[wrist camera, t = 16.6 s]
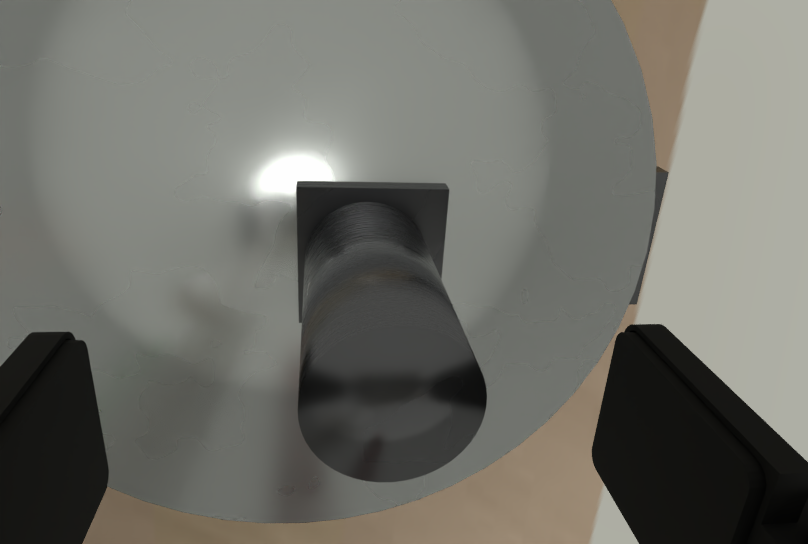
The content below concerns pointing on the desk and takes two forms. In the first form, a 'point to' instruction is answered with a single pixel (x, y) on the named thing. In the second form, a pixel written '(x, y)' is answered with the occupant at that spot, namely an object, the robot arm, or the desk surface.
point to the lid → (311, 214)
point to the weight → (382, 351)
